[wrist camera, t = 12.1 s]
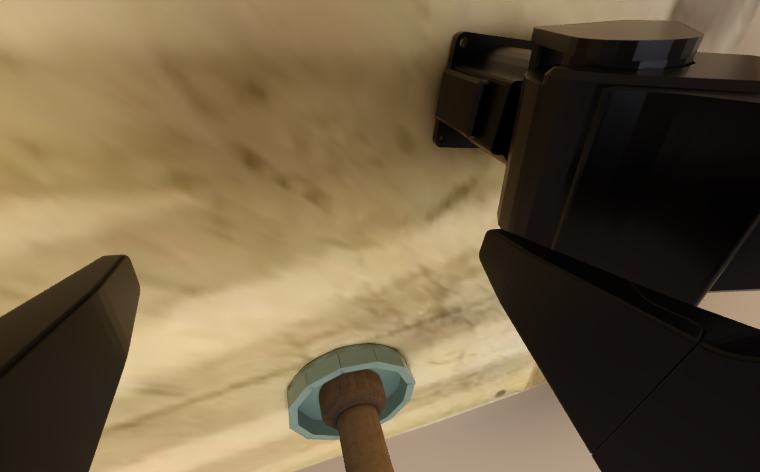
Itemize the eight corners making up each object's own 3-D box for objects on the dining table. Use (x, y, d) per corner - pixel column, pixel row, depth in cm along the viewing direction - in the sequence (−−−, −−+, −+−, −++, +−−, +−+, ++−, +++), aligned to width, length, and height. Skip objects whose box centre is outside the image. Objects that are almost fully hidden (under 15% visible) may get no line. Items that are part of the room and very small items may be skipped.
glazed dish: (415, 334, 33) (423, 353, 32) (397, 405, 40) (403, 423, 38) (285, 356, 30) (286, 378, 28) (289, 429, 36) (290, 451, 35)
